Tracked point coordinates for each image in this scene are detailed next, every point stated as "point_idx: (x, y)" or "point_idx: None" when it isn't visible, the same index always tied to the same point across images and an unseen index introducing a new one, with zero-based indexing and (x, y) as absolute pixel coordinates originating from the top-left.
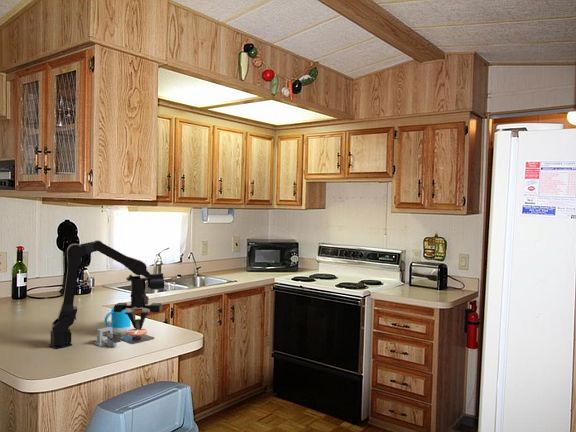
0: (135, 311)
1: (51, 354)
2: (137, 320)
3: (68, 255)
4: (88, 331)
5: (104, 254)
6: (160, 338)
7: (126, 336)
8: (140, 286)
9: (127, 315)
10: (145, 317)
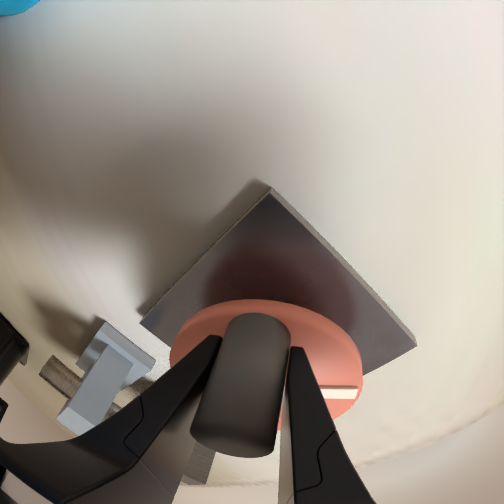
0: (89, 494)
1: (53, 395)
2: (234, 455)
3: None
4: None
5: None
6: (457, 327)
7: (171, 296)
8: None
9: None
10: (348, 468)
